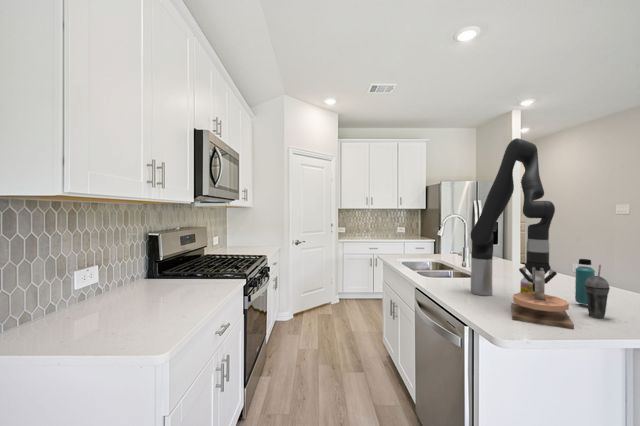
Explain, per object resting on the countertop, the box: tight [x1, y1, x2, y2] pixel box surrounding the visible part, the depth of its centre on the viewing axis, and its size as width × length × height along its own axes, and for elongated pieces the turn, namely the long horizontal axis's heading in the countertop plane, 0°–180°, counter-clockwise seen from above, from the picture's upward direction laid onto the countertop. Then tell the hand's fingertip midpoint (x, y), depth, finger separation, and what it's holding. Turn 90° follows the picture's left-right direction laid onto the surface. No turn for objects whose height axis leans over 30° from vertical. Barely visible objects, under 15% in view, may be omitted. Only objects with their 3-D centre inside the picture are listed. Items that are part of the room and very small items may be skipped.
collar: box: [512, 292, 570, 311], centre depth 119 cm, size 17×17×2 cm
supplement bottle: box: [519, 272, 535, 293], centre depth 136 cm, size 7×7×13 cm
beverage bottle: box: [574, 258, 596, 306], centre depth 131 cm, size 6×7×20 cm
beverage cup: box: [585, 264, 610, 320], centre depth 119 cm, size 7×7×20 cm
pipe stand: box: [510, 271, 575, 330], centre depth 119 cm, size 18×18×18 cm
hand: (536, 292), depth 125 cm, fingers closed
